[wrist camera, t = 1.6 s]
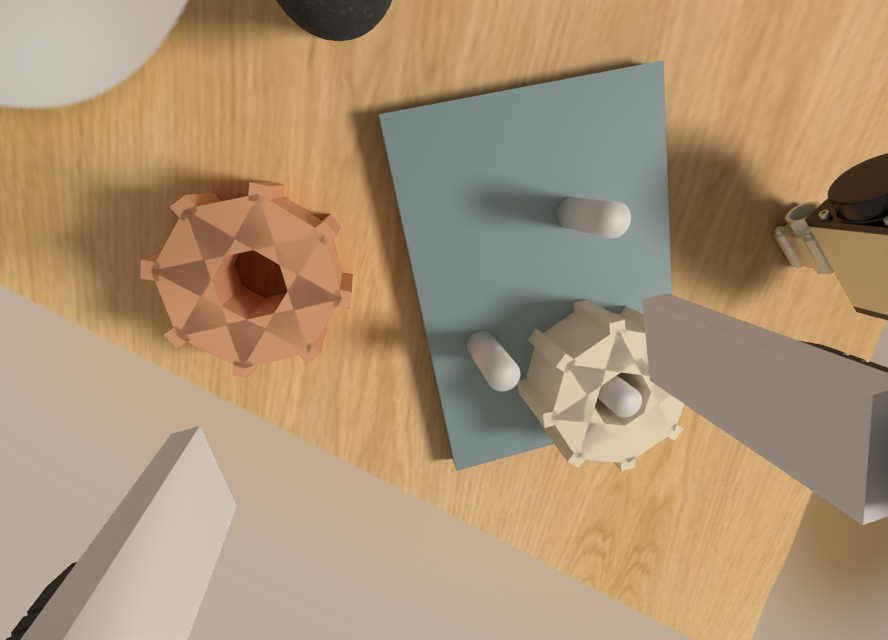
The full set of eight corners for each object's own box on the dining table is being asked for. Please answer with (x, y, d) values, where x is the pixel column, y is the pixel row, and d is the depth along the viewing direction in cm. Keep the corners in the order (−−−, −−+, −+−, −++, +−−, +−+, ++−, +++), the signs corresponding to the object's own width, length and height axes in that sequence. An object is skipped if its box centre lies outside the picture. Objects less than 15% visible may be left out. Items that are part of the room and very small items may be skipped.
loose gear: (153, 204, 28) (111, 209, 23) (325, 170, 29) (318, 168, 24) (213, 360, 31) (187, 393, 26) (365, 324, 32) (366, 349, 27)
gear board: (377, 117, 28) (384, 99, 22) (649, 65, 30) (730, 34, 24) (452, 459, 36) (473, 521, 30) (664, 401, 38) (727, 447, 32)
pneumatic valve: (804, 307, 38) (992, 363, 27) (738, 199, 34) (925, 210, 23) (858, 261, 38) (1072, 296, 26) (797, 146, 34) (1016, 130, 23)
